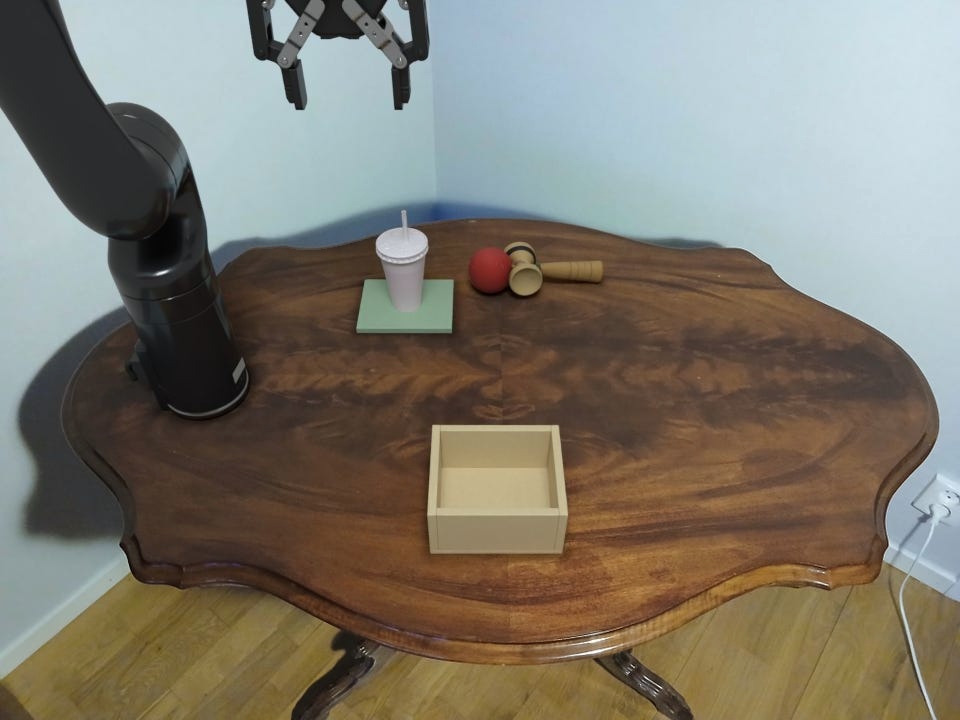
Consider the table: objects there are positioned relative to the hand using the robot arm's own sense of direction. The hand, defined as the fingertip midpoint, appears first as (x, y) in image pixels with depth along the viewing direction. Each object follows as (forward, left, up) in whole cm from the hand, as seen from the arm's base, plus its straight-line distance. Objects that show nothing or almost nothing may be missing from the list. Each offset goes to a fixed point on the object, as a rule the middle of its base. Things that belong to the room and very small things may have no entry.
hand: (350, 106), depth 64 cm
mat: (+2, +12, -33) cm, 35 cm away
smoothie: (+2, +12, -32) cm, 35 cm away
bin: (+13, -19, -33) cm, 40 cm away
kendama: (+19, +17, -33) cm, 42 cm away
